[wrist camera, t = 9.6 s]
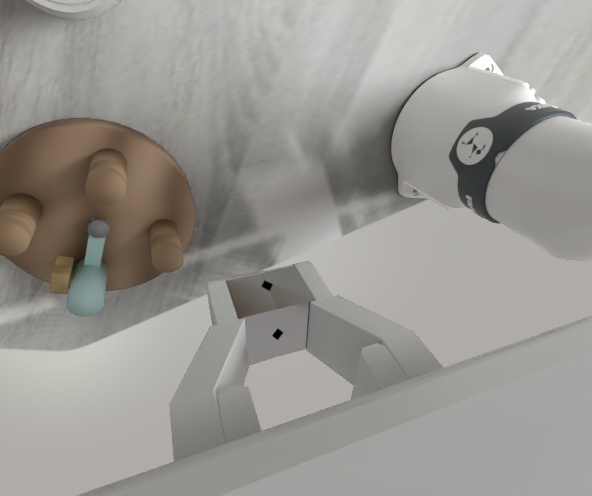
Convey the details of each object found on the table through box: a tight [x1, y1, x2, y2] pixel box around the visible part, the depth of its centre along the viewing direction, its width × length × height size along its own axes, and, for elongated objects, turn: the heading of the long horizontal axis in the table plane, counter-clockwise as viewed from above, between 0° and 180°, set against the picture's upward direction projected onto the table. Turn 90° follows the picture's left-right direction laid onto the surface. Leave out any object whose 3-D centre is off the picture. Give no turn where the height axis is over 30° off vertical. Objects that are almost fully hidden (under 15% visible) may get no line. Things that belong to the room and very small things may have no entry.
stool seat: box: [0, 118, 195, 294], centre depth 33 cm, size 18×18×8 cm
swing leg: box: [67, 218, 110, 316], centre depth 33 cm, size 8×3×5 cm, turn 155°
